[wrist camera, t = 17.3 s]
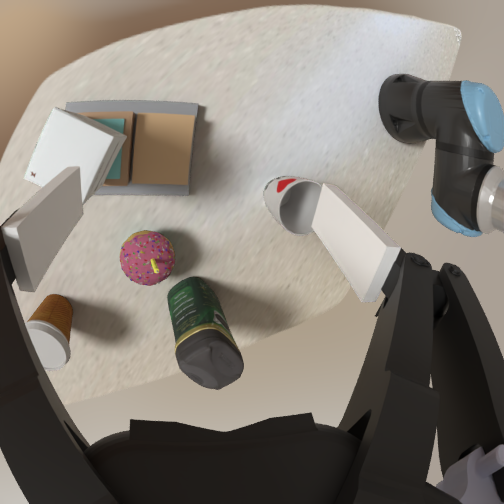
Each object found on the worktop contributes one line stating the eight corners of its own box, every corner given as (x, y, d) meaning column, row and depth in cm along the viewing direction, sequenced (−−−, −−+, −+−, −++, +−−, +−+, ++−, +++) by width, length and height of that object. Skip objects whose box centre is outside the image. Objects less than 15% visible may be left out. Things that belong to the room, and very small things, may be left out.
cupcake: (148, 211, 43) (145, 237, 33) (184, 247, 47) (193, 281, 37) (112, 248, 43) (101, 283, 33) (148, 280, 48) (149, 322, 37)
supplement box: (103, 186, 34) (81, 210, 23) (59, 163, 31) (20, 179, 20) (129, 136, 33) (116, 136, 22) (83, 113, 29) (51, 105, 18)
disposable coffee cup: (63, 337, 46) (51, 380, 36) (27, 305, 41) (7, 345, 31) (90, 311, 46) (80, 355, 36) (53, 276, 41) (32, 315, 31)
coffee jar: (159, 293, 49) (167, 368, 33) (195, 268, 49) (218, 336, 33) (191, 327, 54) (211, 401, 38) (225, 304, 54) (257, 374, 38)
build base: (197, 104, 39) (202, 100, 34) (187, 193, 44) (191, 202, 39) (69, 103, 32) (57, 99, 27) (64, 193, 37) (52, 201, 32)
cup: (298, 167, 48) (329, 177, 39) (299, 212, 51) (329, 230, 43) (252, 172, 46) (276, 183, 37) (256, 219, 49) (279, 240, 41)
